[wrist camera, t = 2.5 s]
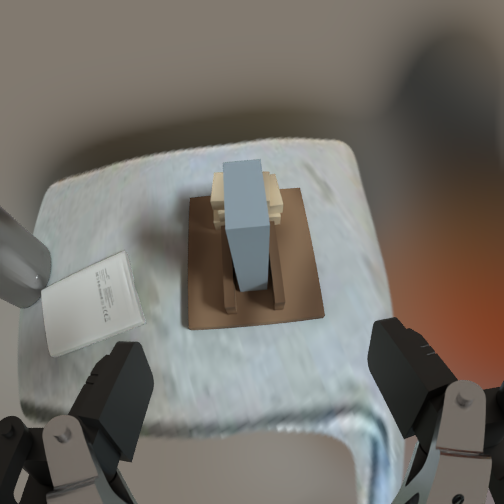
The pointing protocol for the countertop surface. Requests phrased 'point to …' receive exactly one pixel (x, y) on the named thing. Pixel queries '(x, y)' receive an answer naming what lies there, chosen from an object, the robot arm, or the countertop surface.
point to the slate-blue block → (247, 222)
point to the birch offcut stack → (270, 190)
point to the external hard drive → (91, 305)
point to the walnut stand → (225, 280)
